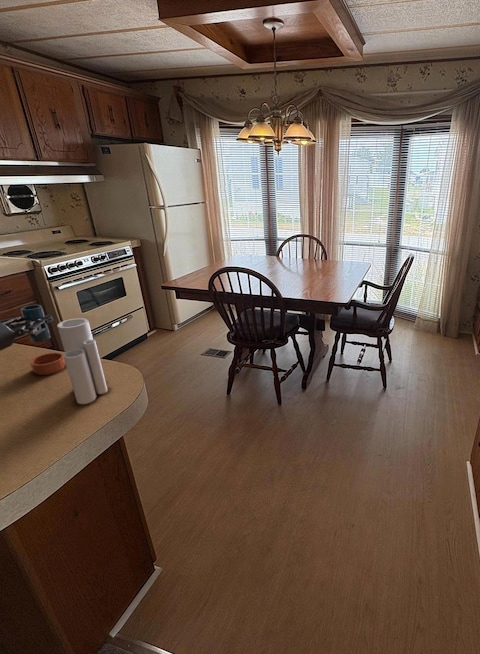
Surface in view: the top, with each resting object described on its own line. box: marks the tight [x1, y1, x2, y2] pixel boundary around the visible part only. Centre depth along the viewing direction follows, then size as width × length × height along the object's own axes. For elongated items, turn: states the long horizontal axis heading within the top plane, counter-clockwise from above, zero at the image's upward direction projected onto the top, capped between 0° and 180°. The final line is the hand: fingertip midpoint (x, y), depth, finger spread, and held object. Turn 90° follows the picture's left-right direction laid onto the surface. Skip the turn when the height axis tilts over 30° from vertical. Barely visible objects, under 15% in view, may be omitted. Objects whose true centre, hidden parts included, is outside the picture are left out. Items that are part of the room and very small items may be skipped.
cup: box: [20, 304, 52, 343], centre depth 99 cm, size 5×5×10 cm
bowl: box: [29, 352, 66, 376], centre depth 105 cm, size 8×8×4 cm
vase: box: [56, 317, 108, 405], centre depth 91 cm, size 11×7×20 cm, turn 36°
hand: (43, 317), depth 101 cm, fingers closed on cup, 4 cm apart
